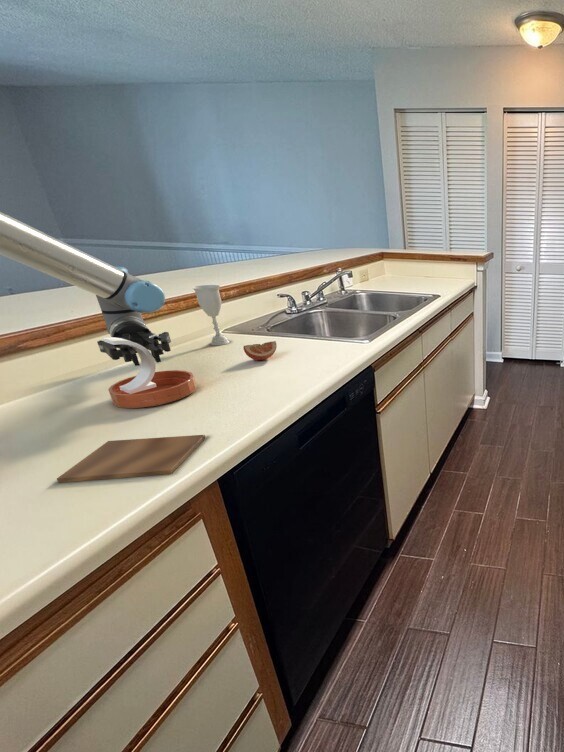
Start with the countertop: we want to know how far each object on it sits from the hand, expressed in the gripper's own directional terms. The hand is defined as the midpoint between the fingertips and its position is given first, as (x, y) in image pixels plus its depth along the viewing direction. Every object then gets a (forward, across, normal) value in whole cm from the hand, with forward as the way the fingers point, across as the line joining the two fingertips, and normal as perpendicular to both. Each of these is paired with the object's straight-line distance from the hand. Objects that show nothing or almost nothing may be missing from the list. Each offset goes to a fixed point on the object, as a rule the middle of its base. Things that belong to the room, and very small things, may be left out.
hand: (146, 357), depth 90 cm
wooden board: (+25, +7, -11) cm, 28 cm away
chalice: (-43, -22, -11) cm, 49 cm away
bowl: (-5, 0, -11) cm, 12 cm away
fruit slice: (-17, -26, -11) cm, 33 cm away
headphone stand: (-6, +2, -8) cm, 10 cm away
